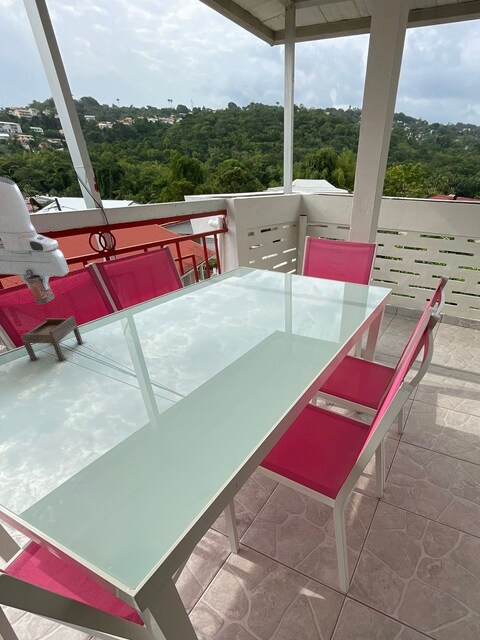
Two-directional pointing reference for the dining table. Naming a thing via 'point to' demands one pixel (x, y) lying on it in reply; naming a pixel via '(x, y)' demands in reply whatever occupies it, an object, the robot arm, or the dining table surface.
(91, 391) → the dining table surface
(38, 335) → the stand
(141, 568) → the dining table surface
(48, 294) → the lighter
